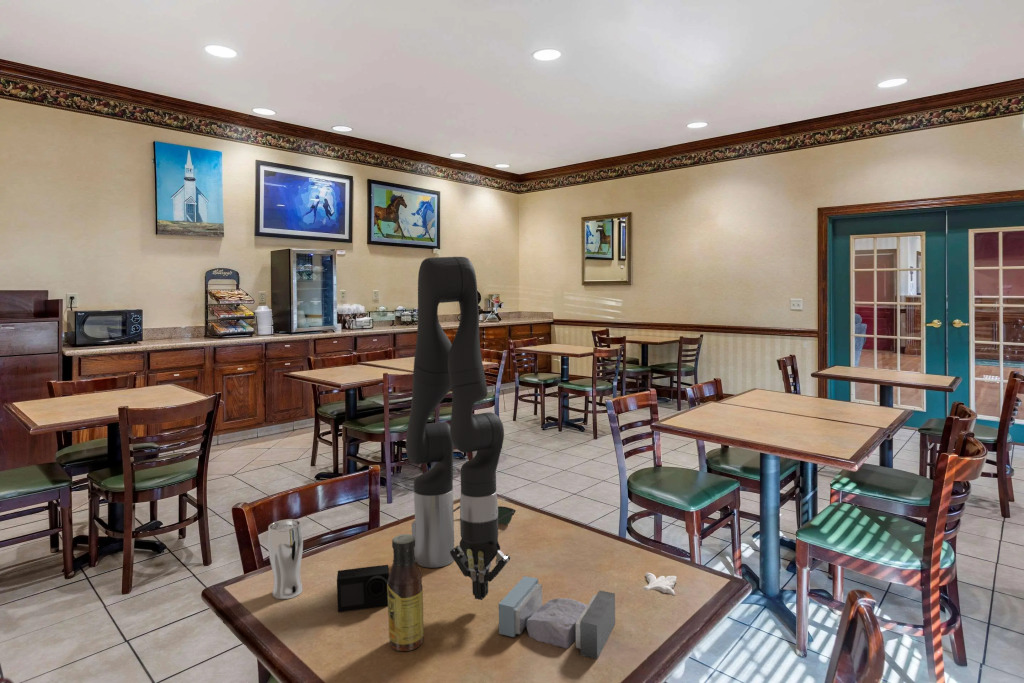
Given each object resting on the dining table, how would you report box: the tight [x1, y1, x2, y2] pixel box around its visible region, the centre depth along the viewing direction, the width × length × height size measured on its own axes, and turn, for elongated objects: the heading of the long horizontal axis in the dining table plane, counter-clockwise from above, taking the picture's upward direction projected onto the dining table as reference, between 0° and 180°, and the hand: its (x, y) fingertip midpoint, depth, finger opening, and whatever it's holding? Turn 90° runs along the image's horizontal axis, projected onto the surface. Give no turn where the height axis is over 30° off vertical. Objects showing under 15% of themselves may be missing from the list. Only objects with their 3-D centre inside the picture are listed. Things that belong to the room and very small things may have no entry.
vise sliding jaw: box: [498, 575, 543, 638], centre depth 112 cm, size 4×12×6 cm, turn 155°
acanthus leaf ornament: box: [642, 572, 678, 596], centre depth 126 cm, size 8×7×2 cm
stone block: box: [526, 597, 588, 649], centre depth 110 cm, size 12×5×10 cm
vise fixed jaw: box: [575, 590, 616, 660], centre depth 106 cm, size 4×12×6 cm, turn 155°
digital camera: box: [336, 564, 390, 613], centre depth 119 cm, size 10×5×7 cm, turn 103°
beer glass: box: [267, 518, 304, 600], centre depth 125 cm, size 7×7×15 cm
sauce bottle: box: [387, 533, 425, 652], centre depth 105 cm, size 6×6×20 cm
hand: (480, 597), depth 117 cm, fingers closed
